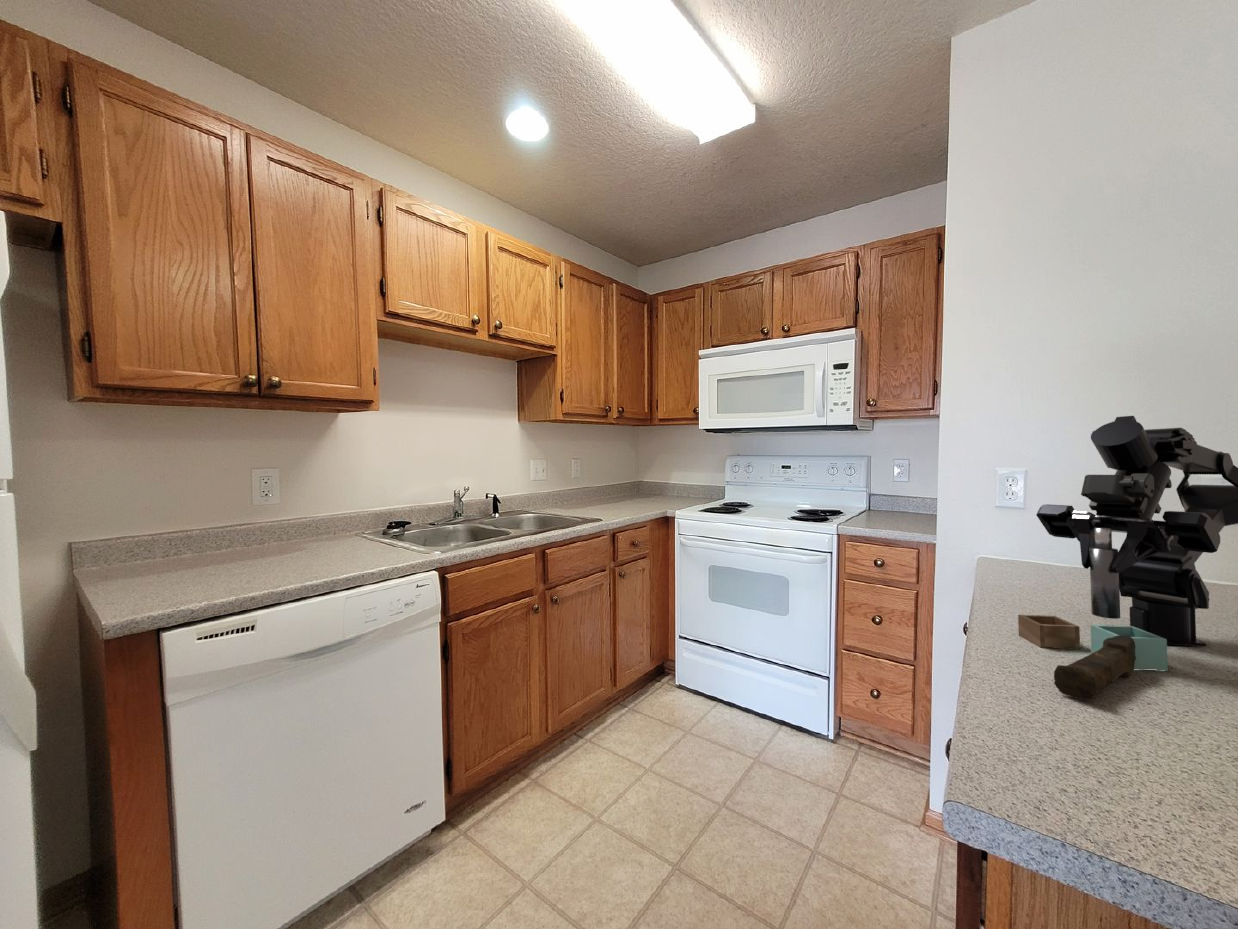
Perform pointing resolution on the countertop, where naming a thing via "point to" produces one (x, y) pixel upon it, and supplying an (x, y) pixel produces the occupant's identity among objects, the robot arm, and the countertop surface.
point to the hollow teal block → (1146, 645)
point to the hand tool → (1097, 668)
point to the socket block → (1049, 631)
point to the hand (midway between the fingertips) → (1099, 569)
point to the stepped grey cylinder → (1104, 576)
